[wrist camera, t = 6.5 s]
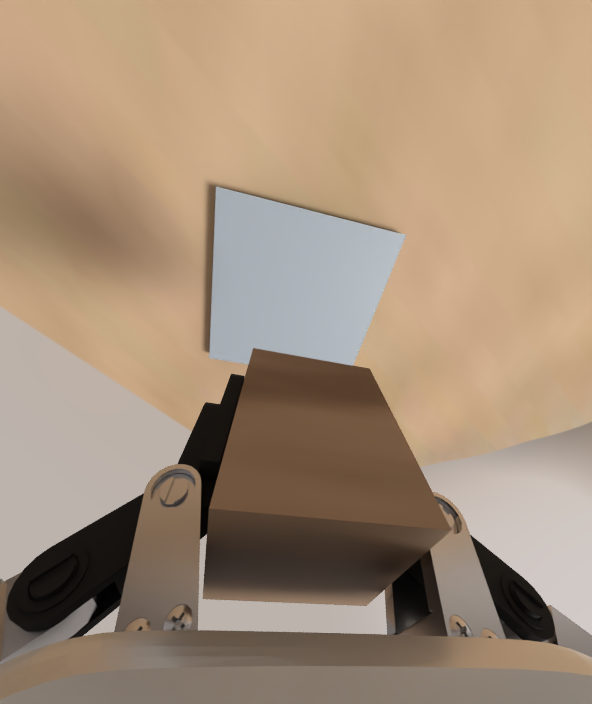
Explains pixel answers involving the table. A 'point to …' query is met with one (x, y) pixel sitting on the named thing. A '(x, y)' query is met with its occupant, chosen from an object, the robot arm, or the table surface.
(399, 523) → the walnut block
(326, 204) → the table surface
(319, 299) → the slate board
